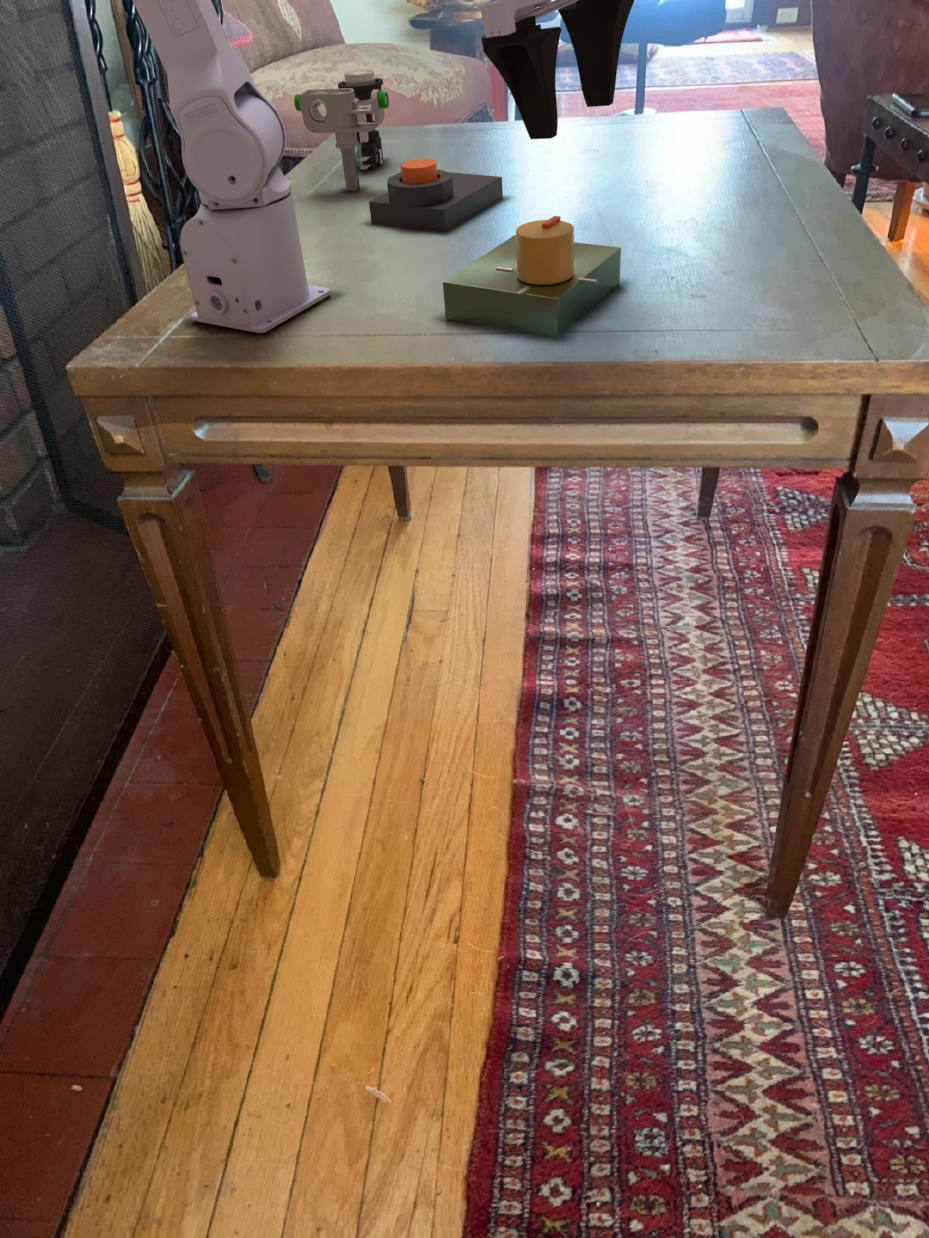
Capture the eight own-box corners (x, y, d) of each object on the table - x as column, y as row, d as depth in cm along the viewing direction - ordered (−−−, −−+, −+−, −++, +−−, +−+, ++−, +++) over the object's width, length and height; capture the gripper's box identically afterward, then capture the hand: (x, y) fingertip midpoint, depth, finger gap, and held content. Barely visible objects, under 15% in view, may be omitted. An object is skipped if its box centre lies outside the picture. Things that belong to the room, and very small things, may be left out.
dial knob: (558, 288, 70) (558, 236, 67) (507, 281, 71) (505, 230, 69) (582, 269, 72) (583, 218, 70) (532, 262, 74) (532, 213, 72)
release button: (425, 188, 91) (424, 169, 90) (395, 185, 93) (393, 166, 91) (444, 178, 93) (443, 159, 92) (414, 175, 95) (412, 157, 94)
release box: (444, 233, 91) (440, 190, 89) (369, 224, 95) (364, 183, 92) (503, 198, 99) (501, 158, 97) (432, 191, 103) (429, 152, 100)
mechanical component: (392, 193, 104) (381, 92, 97) (306, 193, 106) (290, 95, 99) (399, 185, 106) (389, 86, 99) (314, 186, 108) (299, 89, 101)
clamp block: (571, 341, 69) (571, 300, 67) (443, 320, 74) (440, 281, 72) (634, 285, 77) (636, 247, 75) (514, 269, 82) (513, 233, 80)
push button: (385, 173, 110) (374, 78, 104) (342, 175, 111) (329, 80, 105) (395, 159, 115) (385, 67, 109) (353, 160, 116) (341, 69, 110)
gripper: (528, -90, 55) (560, 152, 64) (653, -133, 63) (668, 88, 71) (441, -71, 59) (483, 153, 68) (568, -114, 67) (591, 94, 75)
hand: (572, 121), depth 70 cm, fingers open, 7 cm apart
